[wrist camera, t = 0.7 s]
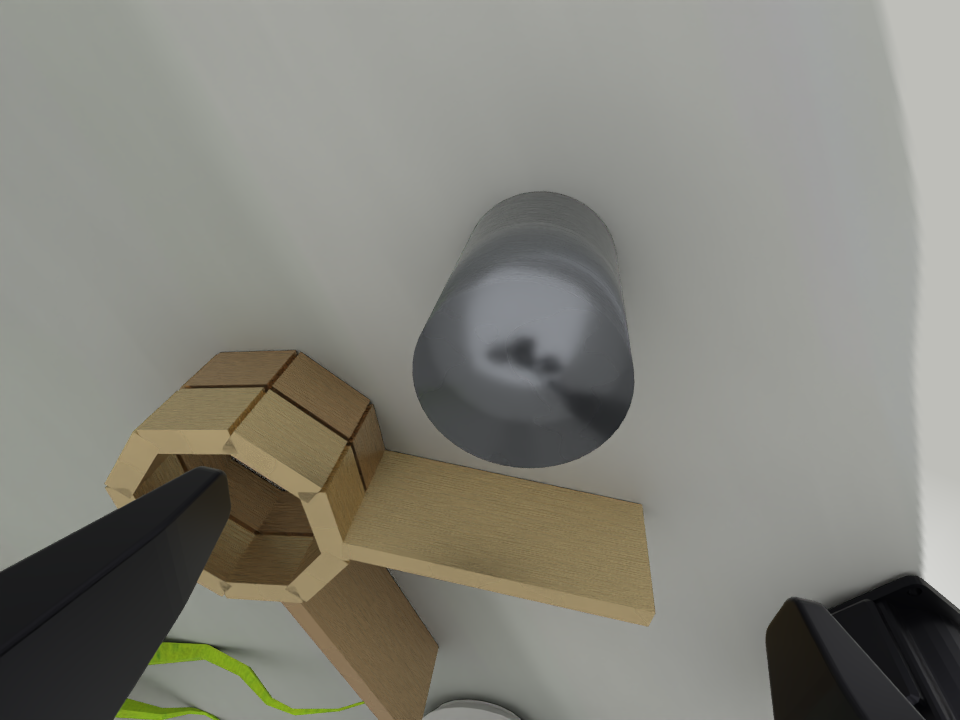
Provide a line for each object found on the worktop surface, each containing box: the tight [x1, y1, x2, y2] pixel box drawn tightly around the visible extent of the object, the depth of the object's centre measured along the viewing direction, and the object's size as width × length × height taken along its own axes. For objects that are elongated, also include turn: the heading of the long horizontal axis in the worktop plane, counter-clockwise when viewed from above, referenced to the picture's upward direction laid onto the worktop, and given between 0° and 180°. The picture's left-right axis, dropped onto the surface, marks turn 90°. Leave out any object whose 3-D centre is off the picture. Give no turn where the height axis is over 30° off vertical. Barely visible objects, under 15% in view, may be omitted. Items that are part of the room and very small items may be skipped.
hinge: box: [105, 350, 655, 720], centre depth 23 cm, size 18×16×5 cm
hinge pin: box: [413, 192, 634, 468], centre depth 16 cm, size 5×5×7 cm
